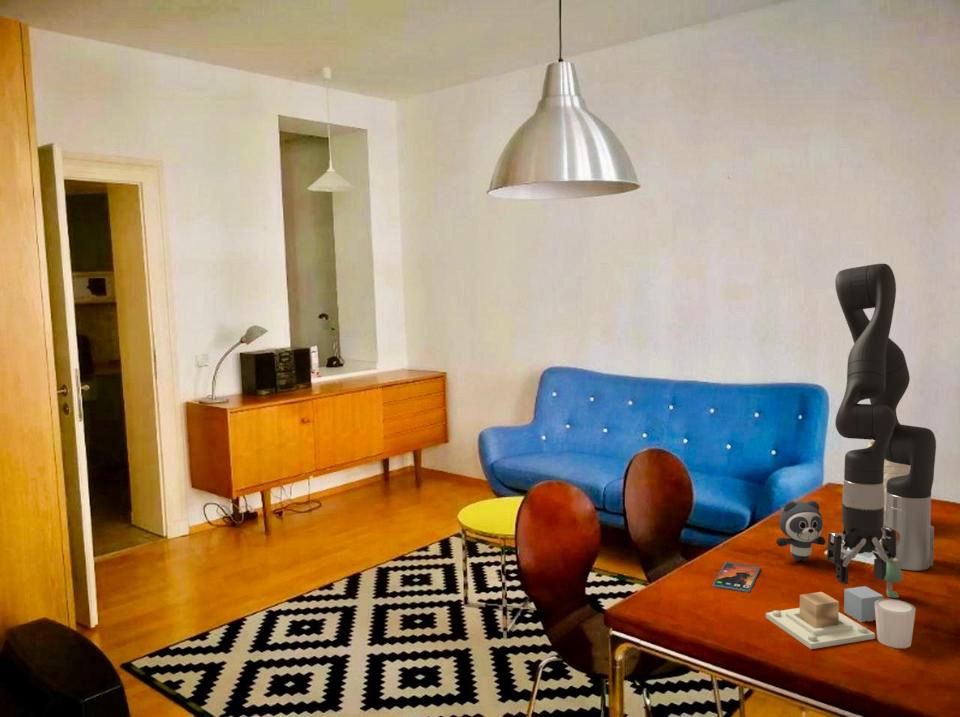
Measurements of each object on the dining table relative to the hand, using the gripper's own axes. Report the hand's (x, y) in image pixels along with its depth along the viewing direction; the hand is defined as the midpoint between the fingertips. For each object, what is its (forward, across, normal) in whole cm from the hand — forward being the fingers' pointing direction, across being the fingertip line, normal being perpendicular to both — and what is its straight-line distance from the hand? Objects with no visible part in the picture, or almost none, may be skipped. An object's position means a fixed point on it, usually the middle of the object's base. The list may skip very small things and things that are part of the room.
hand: (860, 580), depth 153 cm
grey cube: (+7, -1, 0) cm, 7 cm away
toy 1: (+7, -7, -29) cm, 31 cm away
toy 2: (+7, -13, -6) cm, 16 cm away
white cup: (+8, +2, +11) cm, 13 cm away
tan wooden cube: (+6, +11, +2) cm, 13 cm away
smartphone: (+8, +13, -25) cm, 29 cm away
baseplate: (+8, +11, +2) cm, 14 cm away
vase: (+7, -44, -44) cm, 63 cm away
